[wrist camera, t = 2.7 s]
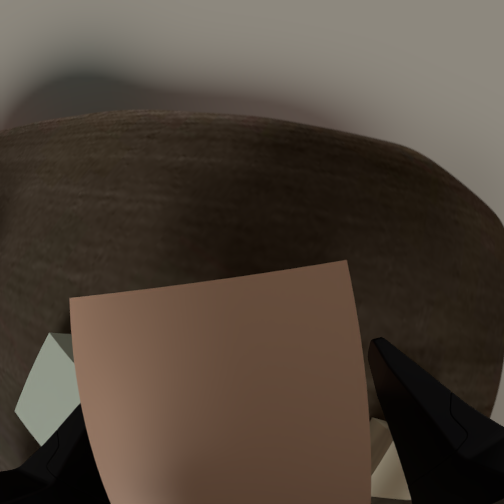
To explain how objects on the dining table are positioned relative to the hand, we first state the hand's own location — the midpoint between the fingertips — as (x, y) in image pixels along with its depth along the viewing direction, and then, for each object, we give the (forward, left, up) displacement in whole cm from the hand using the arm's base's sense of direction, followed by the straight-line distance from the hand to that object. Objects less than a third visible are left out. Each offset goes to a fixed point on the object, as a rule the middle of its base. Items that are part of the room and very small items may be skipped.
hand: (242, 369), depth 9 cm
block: (-11, +1, -8) cm, 14 cm away
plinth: (+7, +12, -8) cm, 16 cm away
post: (0, 0, -8) cm, 8 cm away
